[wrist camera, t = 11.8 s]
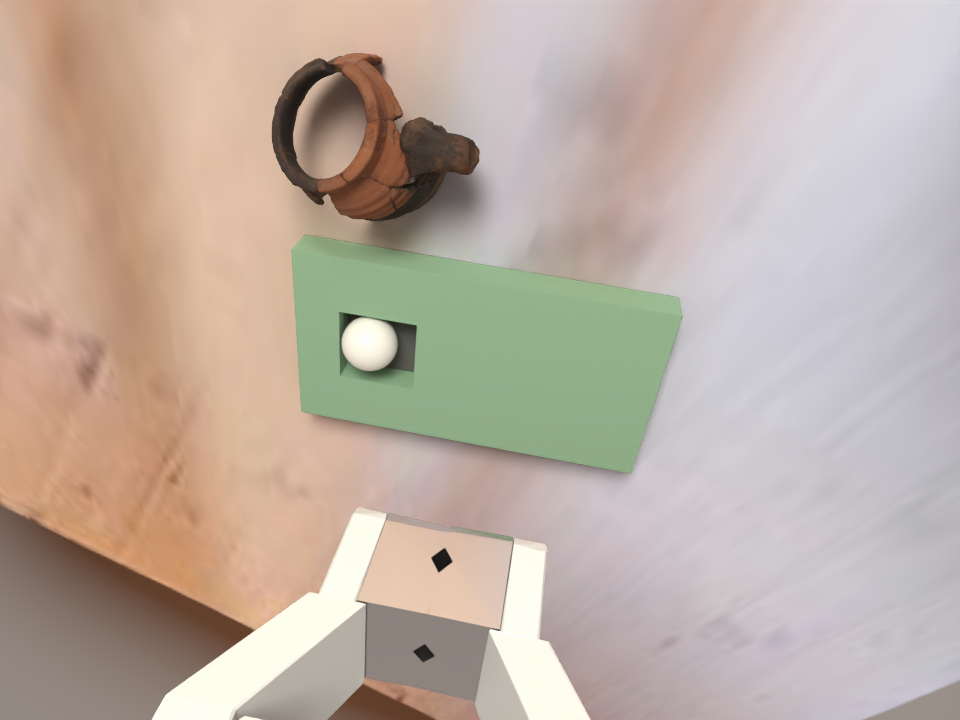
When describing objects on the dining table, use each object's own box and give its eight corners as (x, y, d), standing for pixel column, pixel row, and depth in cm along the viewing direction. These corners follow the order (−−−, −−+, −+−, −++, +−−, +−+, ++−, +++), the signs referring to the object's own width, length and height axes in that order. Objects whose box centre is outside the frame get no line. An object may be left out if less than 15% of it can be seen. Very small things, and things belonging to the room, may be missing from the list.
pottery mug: (344, 224, 46) (257, 212, 39) (347, 82, 45) (259, 41, 37) (503, 228, 41) (439, 215, 34) (512, 68, 40) (448, 18, 32)
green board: (679, 297, 45) (682, 315, 42) (630, 451, 52) (631, 473, 50) (305, 234, 46) (291, 249, 44) (312, 393, 54) (301, 411, 52)
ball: (415, 328, 48) (379, 319, 45) (399, 380, 48) (362, 376, 45) (377, 313, 50) (339, 304, 47) (361, 363, 51) (323, 358, 47)
